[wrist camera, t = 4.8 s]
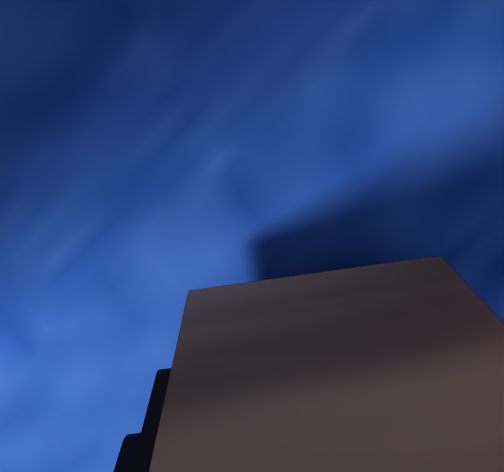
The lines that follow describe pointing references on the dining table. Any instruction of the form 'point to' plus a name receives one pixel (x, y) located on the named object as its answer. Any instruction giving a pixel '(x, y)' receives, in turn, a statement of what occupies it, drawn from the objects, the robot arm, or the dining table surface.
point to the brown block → (337, 375)
